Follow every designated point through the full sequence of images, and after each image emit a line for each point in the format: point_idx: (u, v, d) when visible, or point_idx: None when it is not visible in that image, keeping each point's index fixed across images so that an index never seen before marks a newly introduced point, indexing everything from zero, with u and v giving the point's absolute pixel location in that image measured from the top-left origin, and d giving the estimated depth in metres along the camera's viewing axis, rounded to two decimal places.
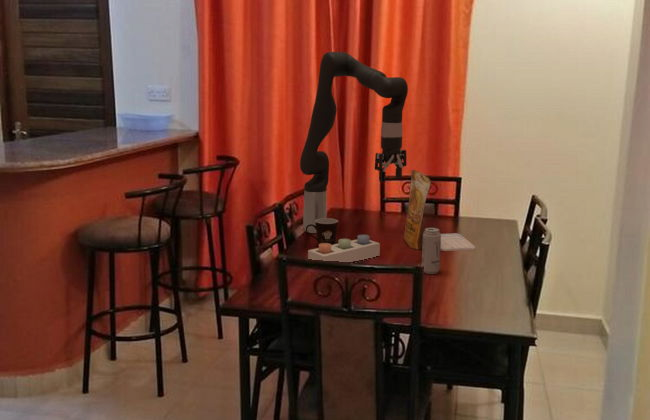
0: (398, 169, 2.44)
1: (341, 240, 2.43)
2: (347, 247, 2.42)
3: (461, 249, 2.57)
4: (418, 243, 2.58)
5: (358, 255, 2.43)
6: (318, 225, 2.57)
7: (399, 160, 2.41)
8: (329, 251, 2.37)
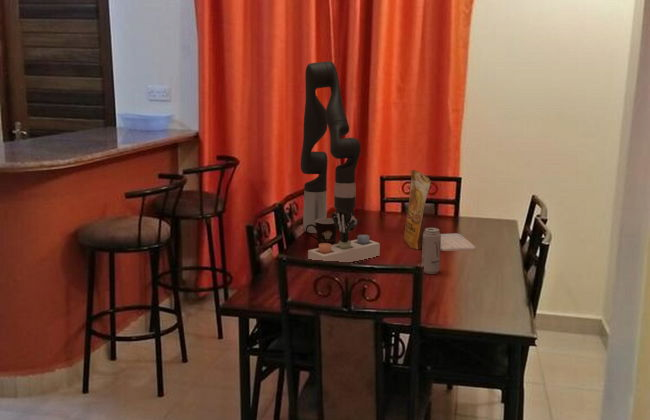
0: None
1: None
2: (347, 248, 2.42)
3: (461, 249, 2.57)
4: (418, 243, 2.58)
5: (358, 255, 2.43)
6: (318, 225, 2.57)
7: None
8: (329, 251, 2.37)
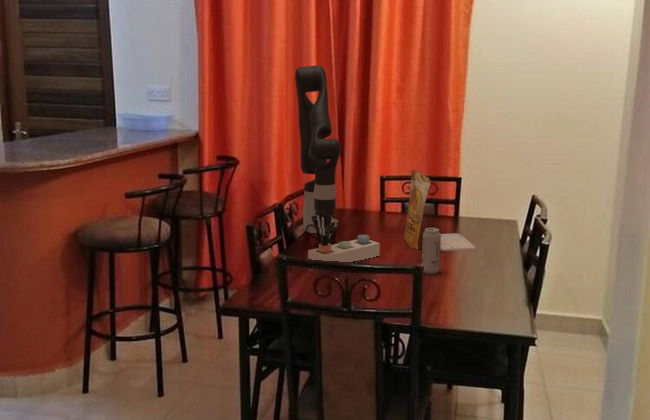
0: None
1: (341, 242, 2.43)
2: None
3: (461, 249, 2.57)
4: (418, 243, 2.58)
5: (358, 255, 2.43)
6: None
7: None
8: (329, 251, 2.37)
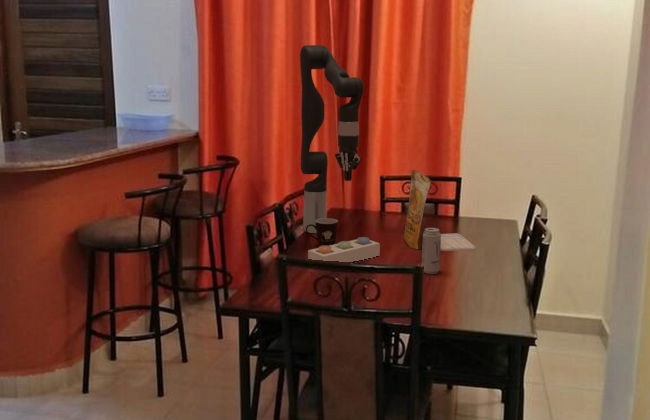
0: None
1: (341, 242, 2.43)
2: None
3: (461, 249, 2.57)
4: (418, 243, 2.58)
5: (358, 255, 2.43)
6: (318, 225, 2.57)
7: None
8: None
